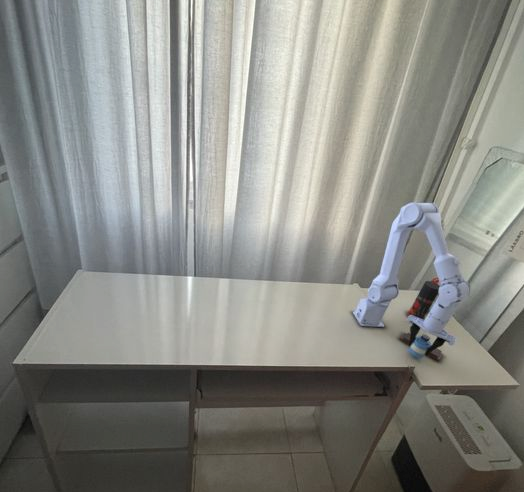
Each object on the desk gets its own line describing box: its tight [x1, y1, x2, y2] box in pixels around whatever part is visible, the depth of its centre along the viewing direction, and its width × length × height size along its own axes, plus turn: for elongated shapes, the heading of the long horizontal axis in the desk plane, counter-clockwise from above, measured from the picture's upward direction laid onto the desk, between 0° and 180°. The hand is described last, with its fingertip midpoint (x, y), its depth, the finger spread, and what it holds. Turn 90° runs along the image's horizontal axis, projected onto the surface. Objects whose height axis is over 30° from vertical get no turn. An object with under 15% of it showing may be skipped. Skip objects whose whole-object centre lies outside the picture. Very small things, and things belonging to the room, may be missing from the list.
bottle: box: [408, 333, 432, 359], centre depth 102 cm, size 5×5×7 cm
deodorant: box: [407, 280, 441, 320], centre depth 122 cm, size 6×6×15 cm
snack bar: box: [399, 332, 444, 362], centre depth 109 cm, size 14×4×2 cm, turn 49°
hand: (418, 349), depth 103 cm, fingers closed on bottle, 5 cm apart
